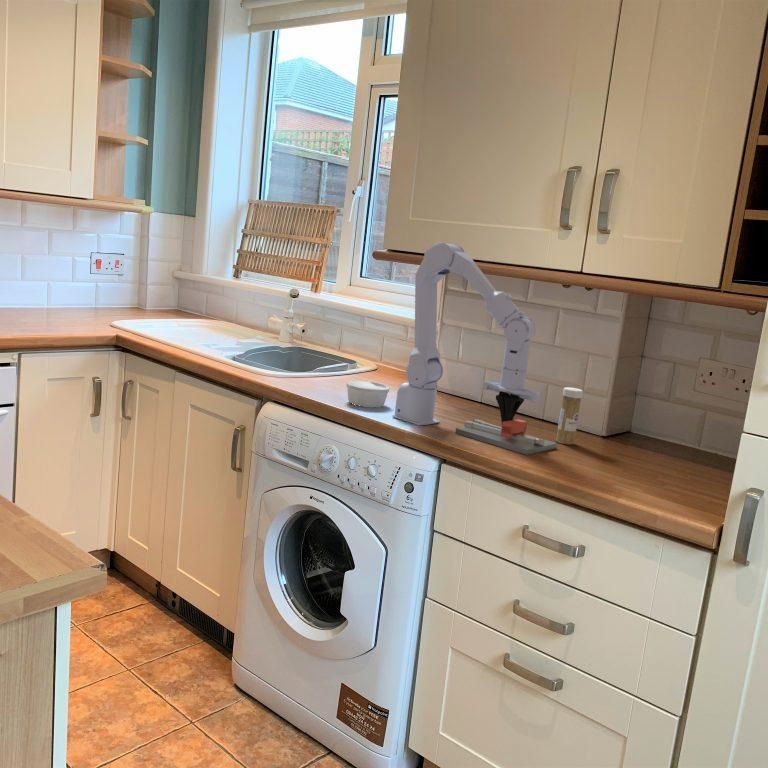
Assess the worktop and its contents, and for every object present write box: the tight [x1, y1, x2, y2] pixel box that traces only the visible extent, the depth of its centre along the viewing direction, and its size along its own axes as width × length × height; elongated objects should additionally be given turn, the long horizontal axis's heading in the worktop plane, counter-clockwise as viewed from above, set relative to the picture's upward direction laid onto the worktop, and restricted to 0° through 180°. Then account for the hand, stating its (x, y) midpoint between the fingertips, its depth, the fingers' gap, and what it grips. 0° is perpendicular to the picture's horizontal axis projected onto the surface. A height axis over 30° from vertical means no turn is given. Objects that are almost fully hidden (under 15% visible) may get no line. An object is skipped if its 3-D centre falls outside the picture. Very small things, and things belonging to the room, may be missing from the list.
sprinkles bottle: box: [555, 386, 584, 445], centre depth 195 cm, size 5×5×13 cm
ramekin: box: [346, 380, 390, 408], centre depth 214 cm, size 11×11×5 cm
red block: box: [501, 418, 528, 439], centre depth 189 cm, size 2×7×4 cm, turn 138°
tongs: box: [463, 419, 545, 447], centre depth 191 cm, size 21×5×1 cm, turn 48°
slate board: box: [455, 426, 558, 456], centre depth 191 cm, size 20×13×1 cm, turn 48°
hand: (506, 425), depth 191 cm, fingers closed
